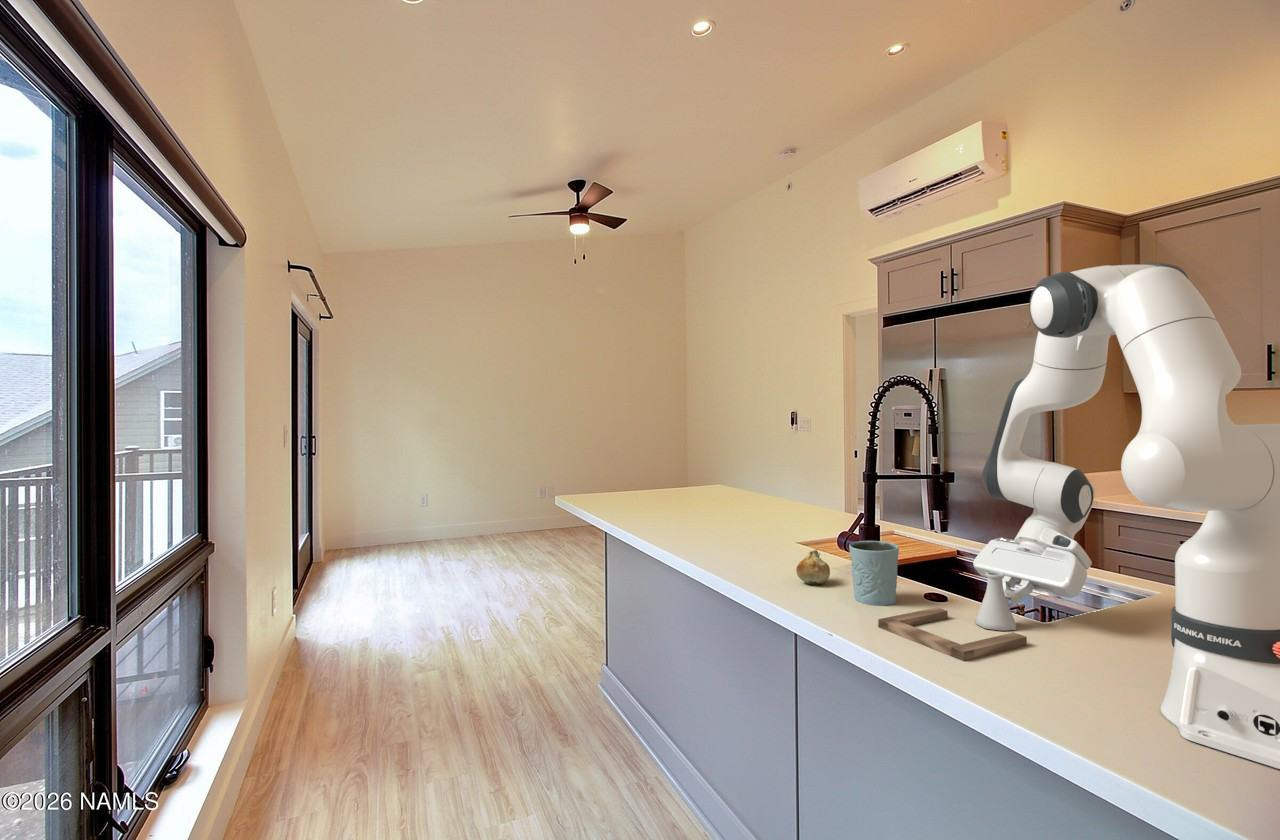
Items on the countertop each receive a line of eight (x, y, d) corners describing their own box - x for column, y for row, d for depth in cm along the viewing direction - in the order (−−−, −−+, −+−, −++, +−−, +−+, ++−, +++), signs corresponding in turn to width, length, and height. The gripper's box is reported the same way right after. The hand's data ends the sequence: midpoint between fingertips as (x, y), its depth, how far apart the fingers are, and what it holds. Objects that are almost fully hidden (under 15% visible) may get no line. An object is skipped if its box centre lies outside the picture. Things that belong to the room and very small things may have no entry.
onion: (790, 581, 159) (789, 548, 159) (820, 578, 161) (819, 546, 161) (805, 589, 152) (804, 555, 152) (836, 586, 154) (835, 552, 154)
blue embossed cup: (902, 596, 145) (901, 542, 144) (896, 609, 136) (895, 551, 135) (854, 591, 149) (853, 539, 149) (846, 603, 140) (845, 548, 140)
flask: (1023, 633, 120) (1022, 579, 120) (980, 631, 122) (980, 577, 122) (1009, 620, 127) (1008, 569, 127) (969, 618, 129) (968, 568, 129)
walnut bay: (1026, 645, 114) (1026, 636, 114) (963, 661, 108) (963, 651, 108) (937, 614, 131) (937, 607, 131) (878, 626, 125) (878, 619, 125)
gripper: (986, 526, 138) (953, 578, 134) (1085, 543, 119) (1051, 604, 116) (1001, 545, 140) (969, 597, 136) (1101, 565, 121) (1068, 625, 118)
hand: (1007, 600), depth 126 cm, fingers closed
